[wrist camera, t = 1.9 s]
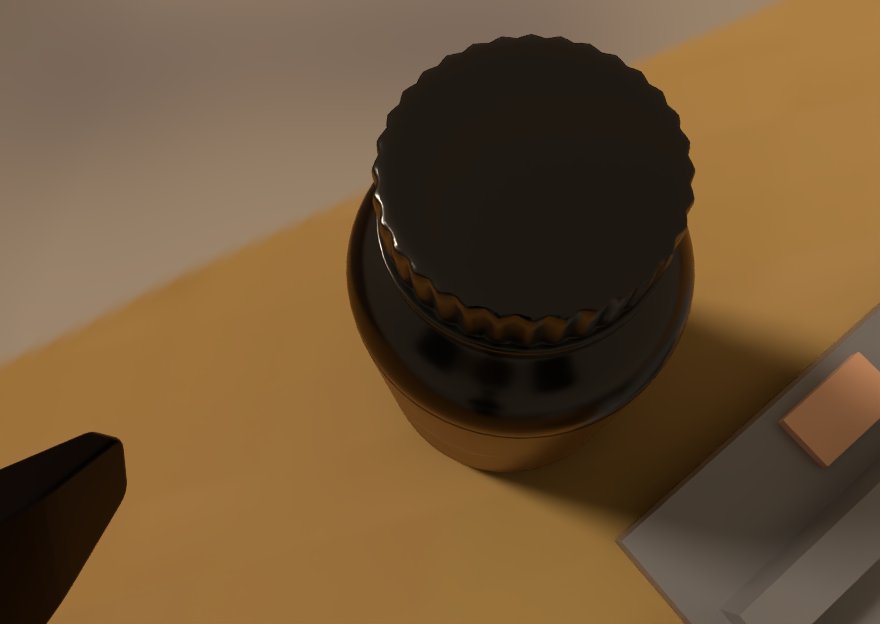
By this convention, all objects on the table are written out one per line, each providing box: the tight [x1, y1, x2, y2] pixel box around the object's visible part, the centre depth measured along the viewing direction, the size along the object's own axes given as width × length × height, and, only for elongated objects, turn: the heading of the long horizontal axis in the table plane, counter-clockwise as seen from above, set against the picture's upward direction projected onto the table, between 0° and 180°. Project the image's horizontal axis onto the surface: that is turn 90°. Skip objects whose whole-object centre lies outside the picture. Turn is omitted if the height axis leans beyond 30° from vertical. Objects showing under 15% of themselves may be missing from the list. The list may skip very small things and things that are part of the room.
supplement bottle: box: [346, 34, 695, 472], centre depth 16 cm, size 7×7×12 cm
